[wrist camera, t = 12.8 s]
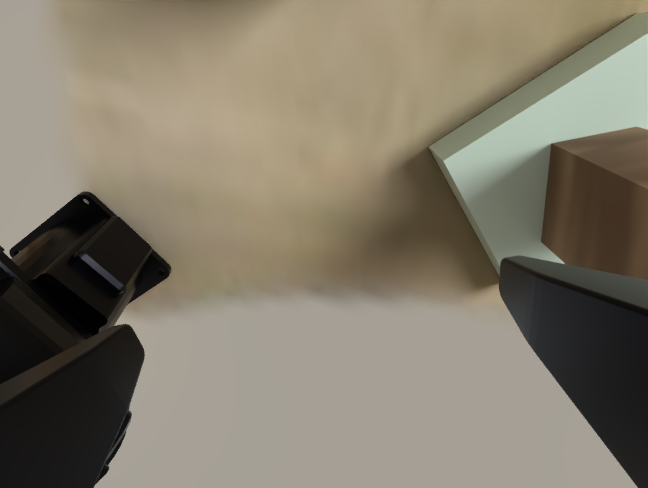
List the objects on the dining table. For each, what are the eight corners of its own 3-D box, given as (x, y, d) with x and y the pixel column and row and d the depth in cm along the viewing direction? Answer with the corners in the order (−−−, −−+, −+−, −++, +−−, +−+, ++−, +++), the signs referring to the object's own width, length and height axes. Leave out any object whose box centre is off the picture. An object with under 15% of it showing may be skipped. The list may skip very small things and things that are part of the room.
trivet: (502, 282, 26) (521, 306, 23) (428, 146, 21) (443, 161, 19) (676, 191, 23) (716, 209, 21) (637, 12, 18) (682, 11, 16)
